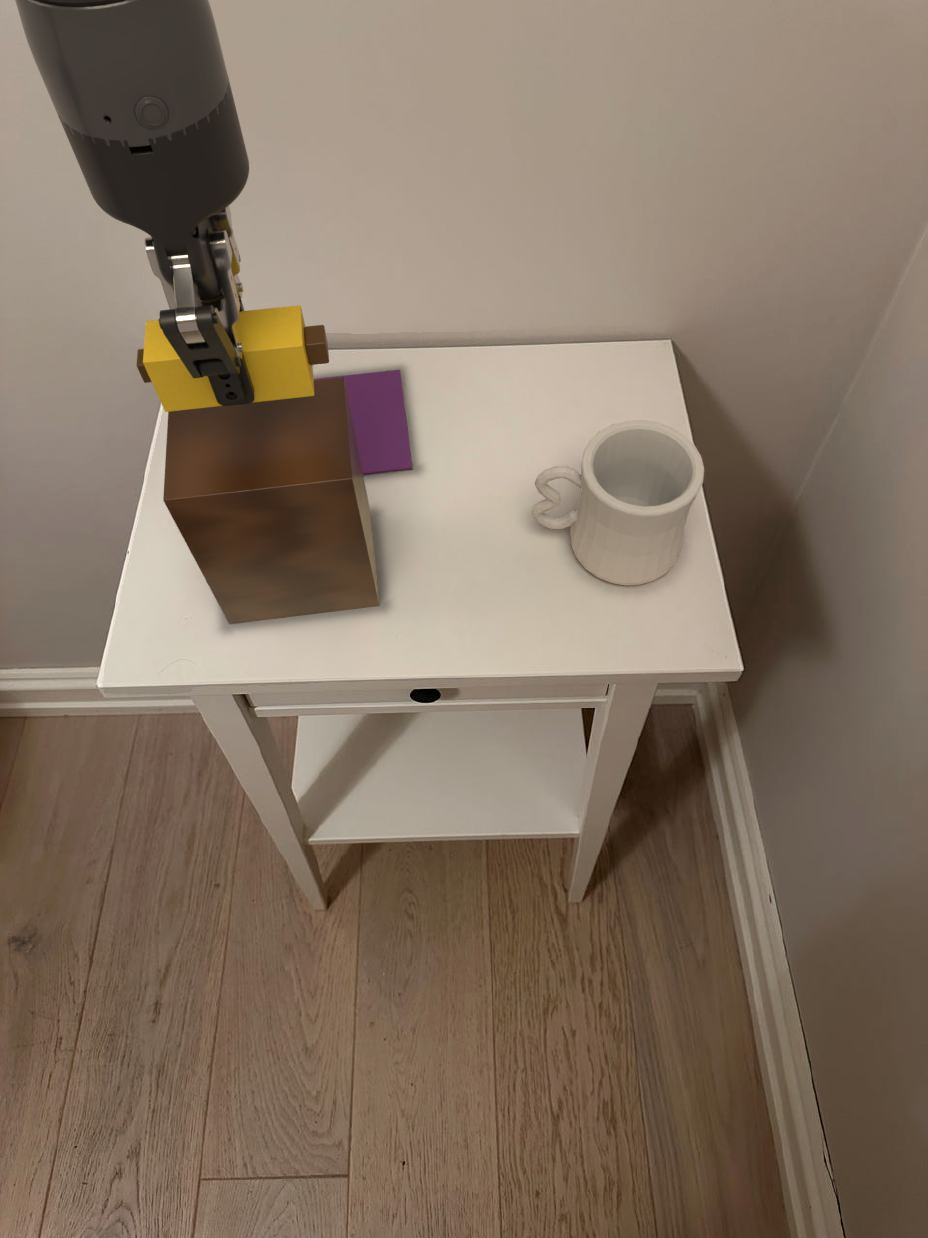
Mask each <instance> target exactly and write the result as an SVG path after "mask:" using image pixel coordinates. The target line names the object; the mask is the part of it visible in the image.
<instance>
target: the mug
mask: <svg viewBox="0 0 928 1238" xmlns="http://www.w3.org/2000/svg"><path fill="white" fill-rule="evenodd" d="M704 465H705V464H704V461H703V457H702V455H701V453H700V452H699V450H698V448H697V447H696V445H695V444H694V443H693V441H691V440H690V439H689V437H687V436H686V435H685V434H684V433H682V432H680V431H678V430H676V429H675V428H674V427H672V426H669V425H666V424H664V423H661V422H657V421H652V420H645V419H635V420H633V419H632V420H624V421H621V422H618V423H613V424H611V425H609V426H607V427H606V428H603V429H601V430H600V431H598V432H597V433H596V434H595V435H594V436H593V437H592V438H591V439H590V440H589V441H588V443H587V444H586V447H585V449H584V450H583V453H582V459H581V463H580V472H578V471H577V470H576V469H574V468H573V467H570V466H567V465H554V466H552V467H549V468H546V469H544V470H543V471H542V472H540V473H539V474H538V475H537V476H536V478H535V481H534V485H535V488H536V491H537V493H539V494H540V495H541V496H542V497H543V498H545V499H543V500H541V501H538V502H537V503H535V504H534V505H533V506H532V509H531V516H532V518H533V519H534V520H535V522H536V523H538V524H540V526H543V527H544V528H548V529H551V530H564V529H566V528H569V527H570V529H569V530H570V531H569V536H570V544H571V549H572V551H573V553H574V556H575V557H576V560H577V561H578V562H579V563H580V564H581V566H582V567H583V568H584V569H585V570H586V571H588V572H589V573H590V574H592V575H593V576H595V578H598V579H600V580H603V581H604V582H605V581H606V582H608V583H610V584H614V585H615V584H616V585H621V586H639V585H643V584H648V583H650V582H653V581H656V580H657V579H659V578H661V577H662V576H664V575H666V574H667V573H668V571H669V570H670V569H671V568H672V567H673V566H674V565H675V564H676V562H677V560H678V558H679V556H680V553H681V552H682V546H683V540H684V533H685V526H686V522H687V519H688V516H689V512H690V509H691V507H692V506H693V504H694V502H695V500H696V499H697V497H698V494H699V492H700V490H701V488H702V486H703V484H704V479H705V478H704V477H705V466H704ZM557 479H559V480H560V479H564V480H567V481H568V482H570V483H571V484H572V485H575V486H577V487H579V488H581V490H580V495H579V501H578V502H577V503H578V504H577V506H576V509H575V510H572V511H569V513H567V514H566V515H565V516H562V517H557V518H556V517H552V516H550V515H548V514H546V512H549V511H551V510H553V509H555V508H556V507H557V506H558V505H559V504H560V503H561V501H562V497H561V494H560V492H559V491H558V490H556V489H555V488H553V487H552V486H551V485H549V484H548V483H549V482H552V481H554V480H557Z"/></svg>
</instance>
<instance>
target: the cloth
mask: <svg viewBox="0 0 928 1238" xmlns="http://www.w3.org/2000/svg"><path fill="white" fill-rule="evenodd" d="M341 377H344V379H345V385H346V390H347V395H348V400H349V405H350V410H351V415H352V420H353V426H354V431H355V436H356V441H357V446H358V451H359V456H360V461H361V466H362V472H363V476H367V475H377V474H384V473H386V474H387V473H392V472H401V471H411V470H413V469H414V468H413V462H412V461H413V460H412V454H411V452H412V451H411V445H410V438H409V430H408V422H407V421H408V420H407V415H406V413H407V412H406V406H405V397H404V391H403V382H402V375H401V369H400V368H399V369H389V370H381V371H373V372H365V373H355V374H348V375H347V374H346V375H338V376H328V377H327V376H326V377H320V378H319V377H318V378H313V380H323V379H332V378H341Z"/></svg>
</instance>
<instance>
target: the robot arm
mask: <svg viewBox="0 0 928 1238" xmlns="http://www.w3.org/2000/svg"><path fill="white" fill-rule="evenodd" d="M14 1H15V4H16V6H17V10H18V15H19V18H20V22H21V26H22V29H23V32H24V35H25V38H26V42H27V45H28V48H29V49H30V52H31V55H32V57H33V60H34V62H35V64H36V65H35V66H36V67H37V70H38V72H39V74H40V76H41V79H42V81H43V84H44V85H45V86H44V87H45V88H46V91H47V92H48V95H49V98H50V100H51V103H52V104H53V107H54V110H55V113H56V114H57V116H58V119H59V122H60V123H61V126H62V129H63V130H64V133H65V135H66V138H67V141H68V143H69V145H70V147H71V149H72V152H73V154H74V156H75V159H76V161H77V163H78V166H79V168H80V171H81V173H82V175H83V178H84V180H85V182H86V185H87V187H88V189H89V191H90V194H91V196H92V198H93V200H94V201H95V203H96V204H97V206H98V207H99V208H100V209H101V210H102V211H103V212H104V213H105V214H107V215H108V216H110V217H111V218H113V219H115V220H116V221H119V222H121V223H124V224H127V225H129V226H132V227H134V228H136V229H138V230H141V231H142V232H144V233H146V234H147V235H149V236H148V237H145V238H144V248H145V253H146V256H147V259H148V262H149V265H150V268H151V272H152V273H153V274H154V276H155V277H156V278H158V279H159V281H160V283H161V287H162V289H163V293H164V296H165V298H166V303H167V305H168V308H169V309H161V310H159V318H158V320H159V325H160V328H161V329H162V331H163V333H164V335H165V337H166V338H167V340H168V341H169V343H170V344H171V346H172V347H173V349H174V350H175V352H176V353H177V355H178V356H179V358H180V359H181V361H182V362H183V364H184V365H185V367H186V368H187V370H188V371H189V373H190V374H191V376H192V377H193V378H202V377H204V376H208V379H209V381H210V384H211V387H212V389H213V392H214V395H215V398H216V400H217V402H218V403H219V404H220V405H222V406H232V405H241V404H249V403H252V402H253V401H254V387H253V384H252V381H251V377H250V374H249V371H248V368H247V365H246V362H245V358H244V355H243V352H244V349H243V344H242V343H241V342H240V339H239V335H238V331H237V327H236V322H237V321H238V319H239V312H240V311H245V308H244V304H243V301H242V299H243V292H244V285H243V282H241V280H240V277H239V273H240V271H241V266H240V265H241V264H240V263H241V262H242V261H241V255H240V251H239V248H238V244H237V242H236V239H235V235H234V230H233V224H232V223H233V222H232V212H231V209H230V205H232V203H234V202H235V201H236V200H237V198H238V197H239V196H240V195H241V193H242V192H243V191H244V188H245V187H246V185H247V182H248V179H249V175H250V161H249V156H248V152H247V148H246V143H245V139H244V136H243V132H242V127H241V123H240V120H239V115H238V111H237V107H236V103H235V99H234V94H233V91H232V86H231V82H230V78H229V74H228V70H227V66H226V62H225V58H224V54H223V50H222V46H221V42H220V37H219V34H218V29H217V25H216V21H215V18H214V15H213V11H212V7H211V4H210V1H209V0H14Z"/></svg>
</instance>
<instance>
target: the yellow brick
mask: <svg viewBox="0 0 928 1238" xmlns="http://www.w3.org/2000/svg"><path fill="white" fill-rule="evenodd" d="M236 327H237V331H238V335H239V339H240V342H241V343H242V344H243V349H244V352H243V355H244V358H245V362H246V365H247V368H248V371H249V374H250V377H251V381H252V384H253V387H254V401H253V402H262V401H271V400H281V399H290V398H299V397H308V396H314V380H313V379H314V366H316V365H324V364H329V363H330V352H329V343H328V338H327V334H326V328H325V325H324V324H316V325H308V326H307V325H306V322H305V318H304V314H303V310H302V306H301V305H300V304H299V305H298V304H297V305H289V306H288V305H287V306H278V307H270V308H260V309H251V310H244V311H240V312H239V319H238V321H237V322H236ZM144 328H145V329H144V340H143V341H144V342H143V348H138V349H137V355H136V368H137V370H138V372H139V374H140V377H141V379H142V381H143V383H145V384H147V383H151V384H152V386H153V388H154V390H155V393H156V395H157V397H158V399H159V402H160V403H161V406H162V408H163V410H164V412H165V413H168V412H170V411H179V410H189V409H198V408H207V407H216V406H222V405H220V404H219V403H218V402H217V400H216V398H215V395H214V392H213V389H212V387H211V384H210V381H209V379H208V376H204V377H202V378H193V377H192V376H191V374H190V373H189V371H188V370H187V368H186V367H185V365H184V364H183V362H182V361H181V359H180V358H179V356H178V355H177V353H176V352H175V350H174V349H173V347H172V346H171V344H170V343H169V341H168V340H167V338H166V337H165V335H164V333H163V331H162V329H161V328H160V325H159V319H153V320H146V321H145V327H144ZM253 402H252V403H253Z"/></svg>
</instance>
